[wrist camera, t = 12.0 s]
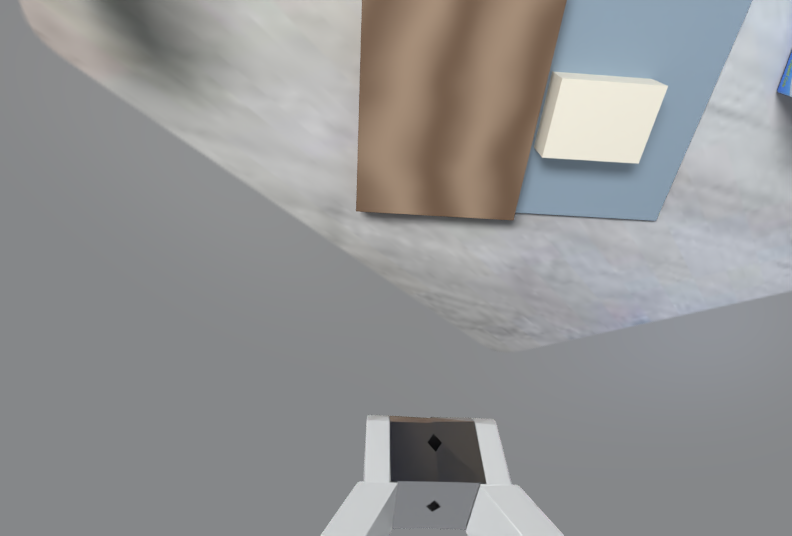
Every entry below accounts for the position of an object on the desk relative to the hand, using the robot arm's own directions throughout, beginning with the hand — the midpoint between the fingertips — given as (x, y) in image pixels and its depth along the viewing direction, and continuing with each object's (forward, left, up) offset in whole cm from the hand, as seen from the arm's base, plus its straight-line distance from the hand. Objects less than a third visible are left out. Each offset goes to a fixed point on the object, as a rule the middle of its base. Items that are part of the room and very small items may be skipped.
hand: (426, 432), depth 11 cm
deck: (-4, 0, -31) cm, 31 cm away
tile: (-16, 0, -31) cm, 35 cm away
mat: (-18, 0, -31) cm, 36 cm away
